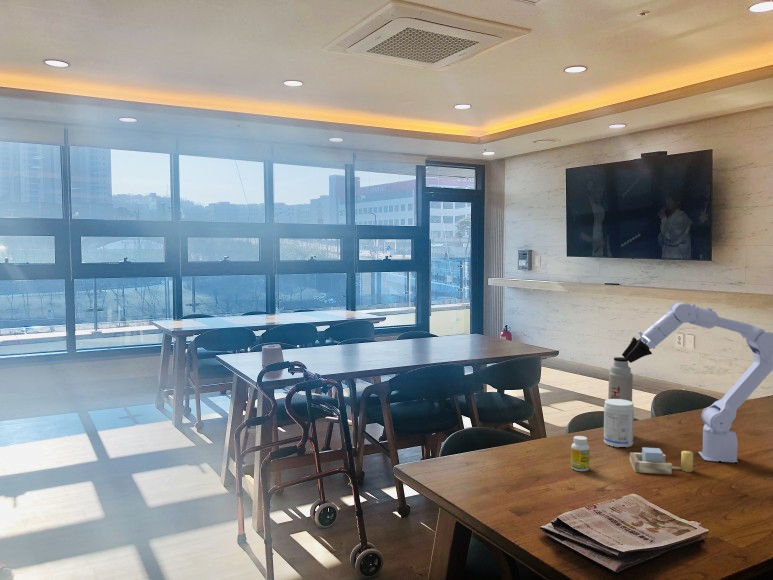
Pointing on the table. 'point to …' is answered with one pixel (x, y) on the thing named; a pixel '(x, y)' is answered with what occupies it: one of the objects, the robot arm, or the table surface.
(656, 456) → the corded block
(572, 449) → the supplement bottle
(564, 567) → the table surface
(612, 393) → the thermos bottle
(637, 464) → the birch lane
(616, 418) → the supplement tub
